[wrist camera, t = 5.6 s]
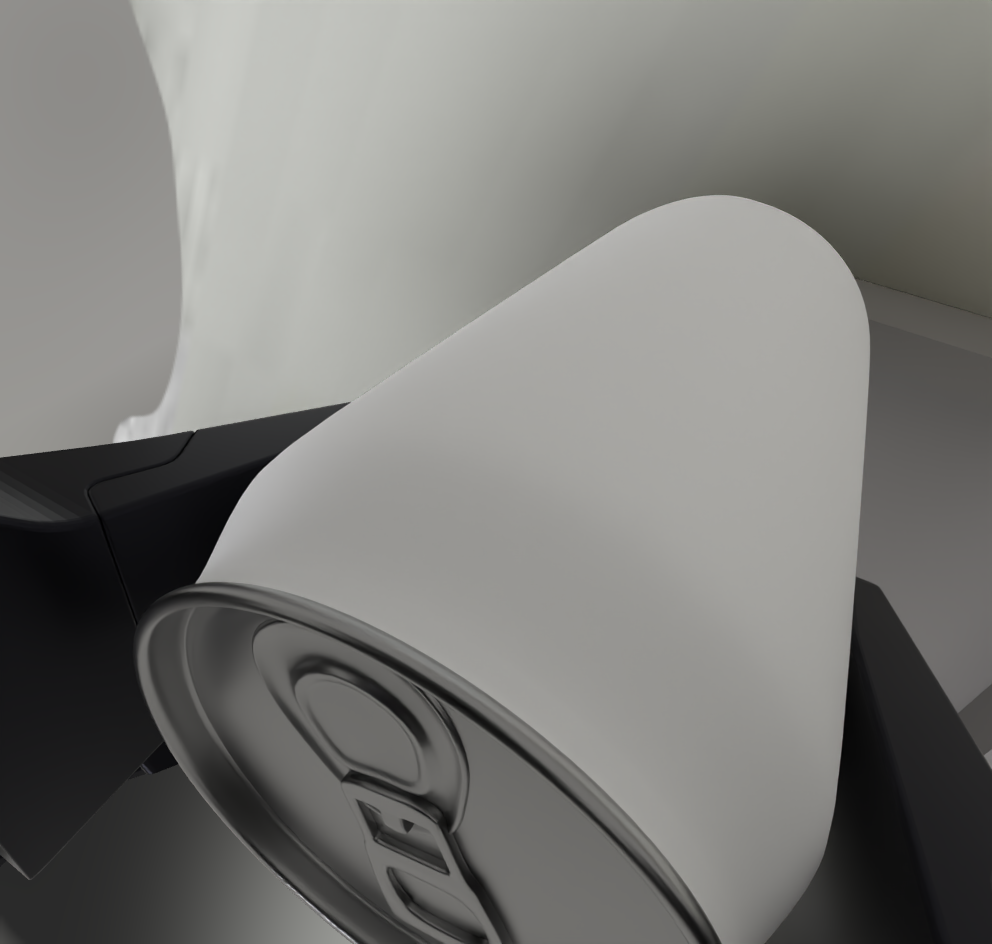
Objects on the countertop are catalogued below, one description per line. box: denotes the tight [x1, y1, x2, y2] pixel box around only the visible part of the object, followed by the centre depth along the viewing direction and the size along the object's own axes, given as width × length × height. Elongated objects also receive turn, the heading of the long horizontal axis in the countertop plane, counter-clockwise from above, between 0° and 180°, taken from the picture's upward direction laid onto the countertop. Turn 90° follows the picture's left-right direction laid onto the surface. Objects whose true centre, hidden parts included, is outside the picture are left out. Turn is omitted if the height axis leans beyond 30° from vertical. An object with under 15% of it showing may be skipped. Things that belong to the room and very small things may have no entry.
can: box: [133, 195, 870, 944], centre depth 10 cm, size 6×6×12 cm
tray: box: [854, 278, 992, 768], centre depth 20 cm, size 16×16×3 cm
